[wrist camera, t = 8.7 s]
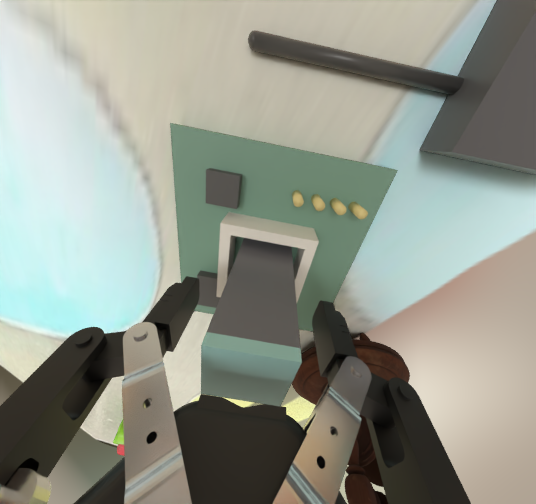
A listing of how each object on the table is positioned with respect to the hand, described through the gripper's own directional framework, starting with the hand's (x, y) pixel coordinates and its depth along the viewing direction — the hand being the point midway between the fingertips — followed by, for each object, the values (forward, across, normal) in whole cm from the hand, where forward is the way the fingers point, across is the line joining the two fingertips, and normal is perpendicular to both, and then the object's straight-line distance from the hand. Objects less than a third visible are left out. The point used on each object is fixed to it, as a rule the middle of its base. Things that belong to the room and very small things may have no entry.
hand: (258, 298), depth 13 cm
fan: (+7, -8, -15) cm, 18 cm away
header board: (+7, 0, 0) cm, 7 cm away
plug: (+6, 0, 0) cm, 6 cm away
